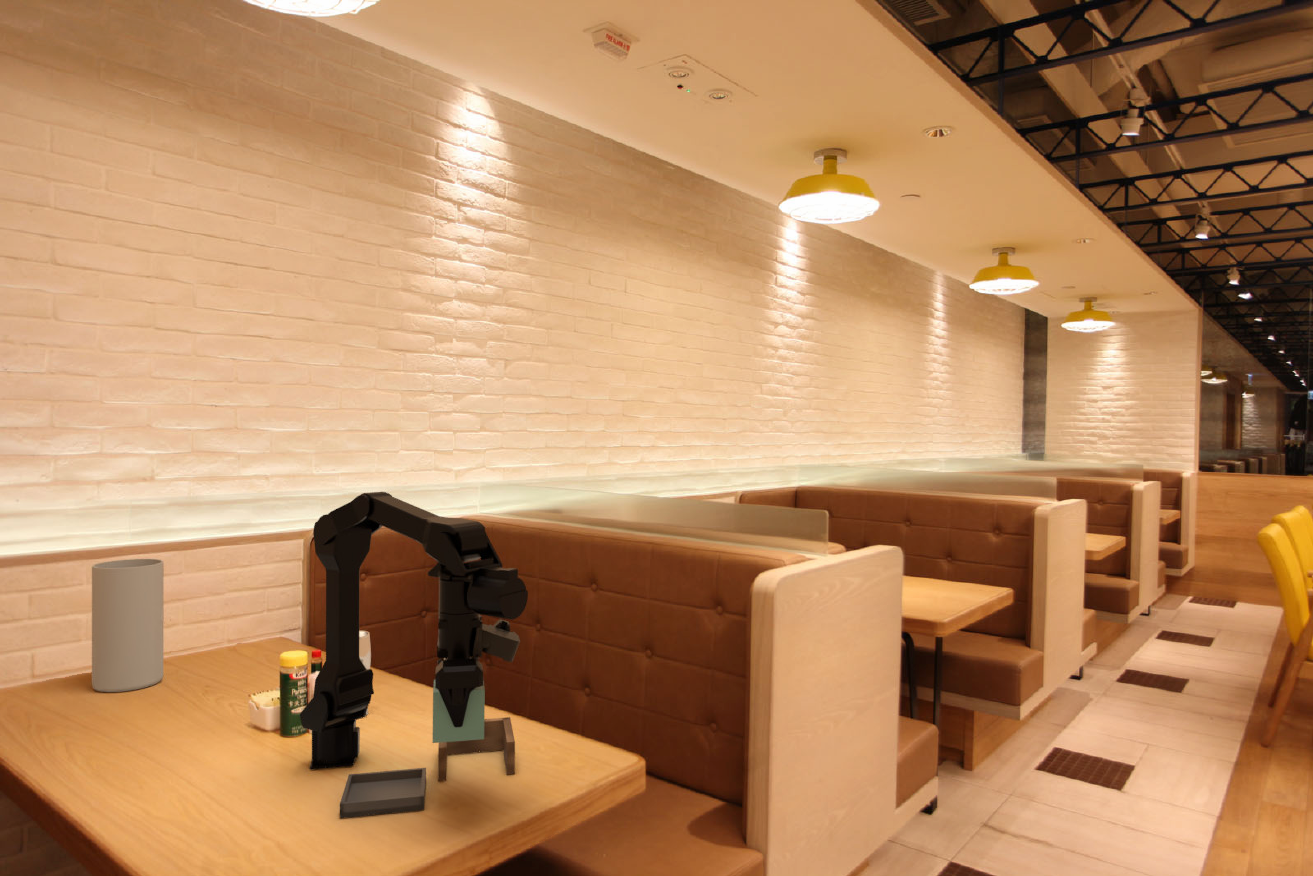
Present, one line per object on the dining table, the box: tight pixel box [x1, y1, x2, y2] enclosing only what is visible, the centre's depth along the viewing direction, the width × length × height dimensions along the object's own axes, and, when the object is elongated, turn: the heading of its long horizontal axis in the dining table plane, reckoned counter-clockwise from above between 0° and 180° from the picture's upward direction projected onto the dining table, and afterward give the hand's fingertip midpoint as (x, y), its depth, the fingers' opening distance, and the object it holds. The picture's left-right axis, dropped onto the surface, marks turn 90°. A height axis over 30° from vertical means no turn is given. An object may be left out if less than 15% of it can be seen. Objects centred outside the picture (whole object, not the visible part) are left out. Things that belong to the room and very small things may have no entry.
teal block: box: [431, 679, 486, 744], centre depth 118 cm, size 7×6×7 cm
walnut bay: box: [437, 716, 516, 782], centre depth 132 cm, size 11×11×5 cm
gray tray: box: [339, 767, 427, 820], centre depth 119 cm, size 11×10×2 cm
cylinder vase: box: [91, 558, 165, 693], centre depth 172 cm, size 12×12×25 cm
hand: (458, 719), depth 118 cm, fingers closed on teal block, 6 cm apart
